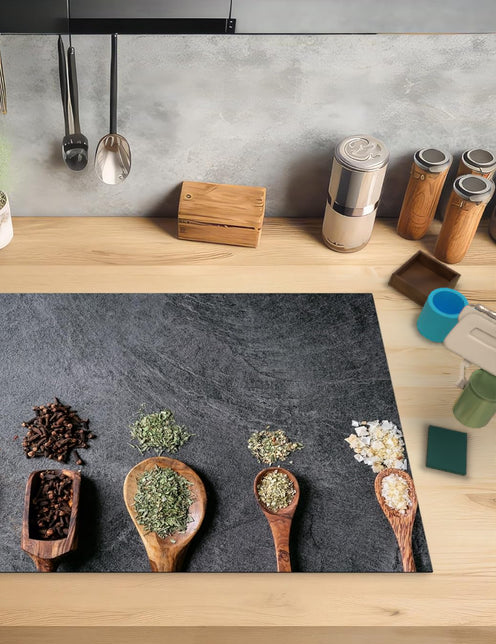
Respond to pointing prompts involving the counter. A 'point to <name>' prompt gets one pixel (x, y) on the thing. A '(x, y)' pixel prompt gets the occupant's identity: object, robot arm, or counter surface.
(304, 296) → the counter surface
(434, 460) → the mat
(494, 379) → the green pot
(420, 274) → the tray
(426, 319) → the mug
